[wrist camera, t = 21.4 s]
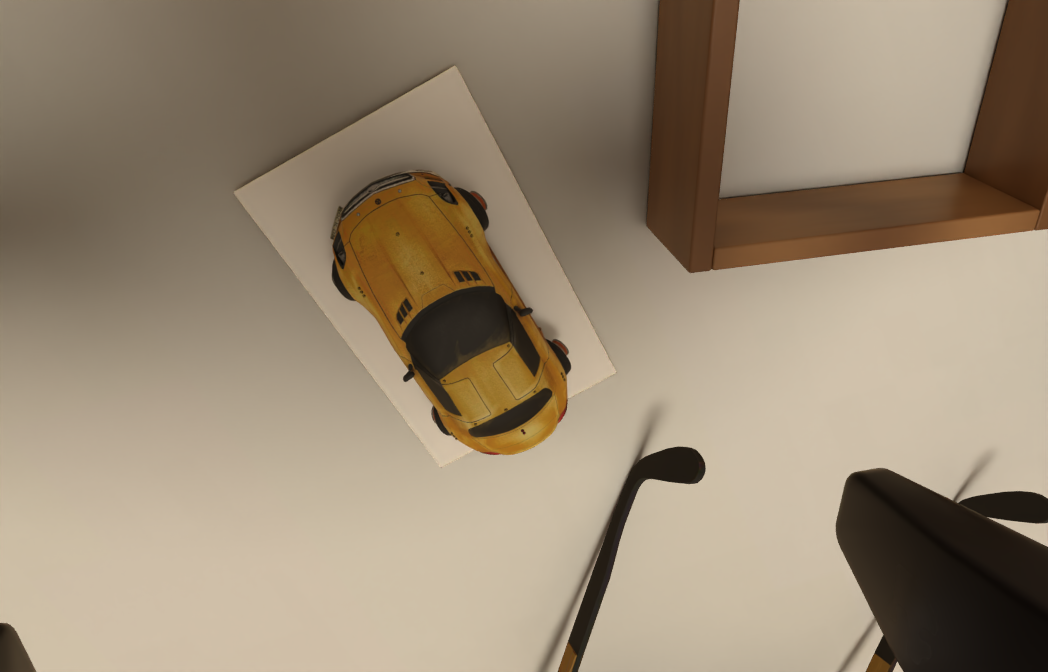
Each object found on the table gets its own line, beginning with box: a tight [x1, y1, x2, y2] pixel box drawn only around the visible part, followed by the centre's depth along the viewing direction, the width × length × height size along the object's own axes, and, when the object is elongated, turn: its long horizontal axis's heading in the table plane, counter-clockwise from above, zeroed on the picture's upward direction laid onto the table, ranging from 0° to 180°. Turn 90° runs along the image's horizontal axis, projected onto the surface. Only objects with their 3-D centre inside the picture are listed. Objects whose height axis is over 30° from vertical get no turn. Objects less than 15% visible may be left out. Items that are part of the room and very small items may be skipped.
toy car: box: [233, 65, 617, 468], centre depth 20 cm, size 4×8×2 cm, turn 26°
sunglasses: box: [558, 447, 1048, 672], centre depth 29 cm, size 14×15×5 cm
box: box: [647, 0, 1048, 273], centre depth 19 cm, size 10×10×3 cm
